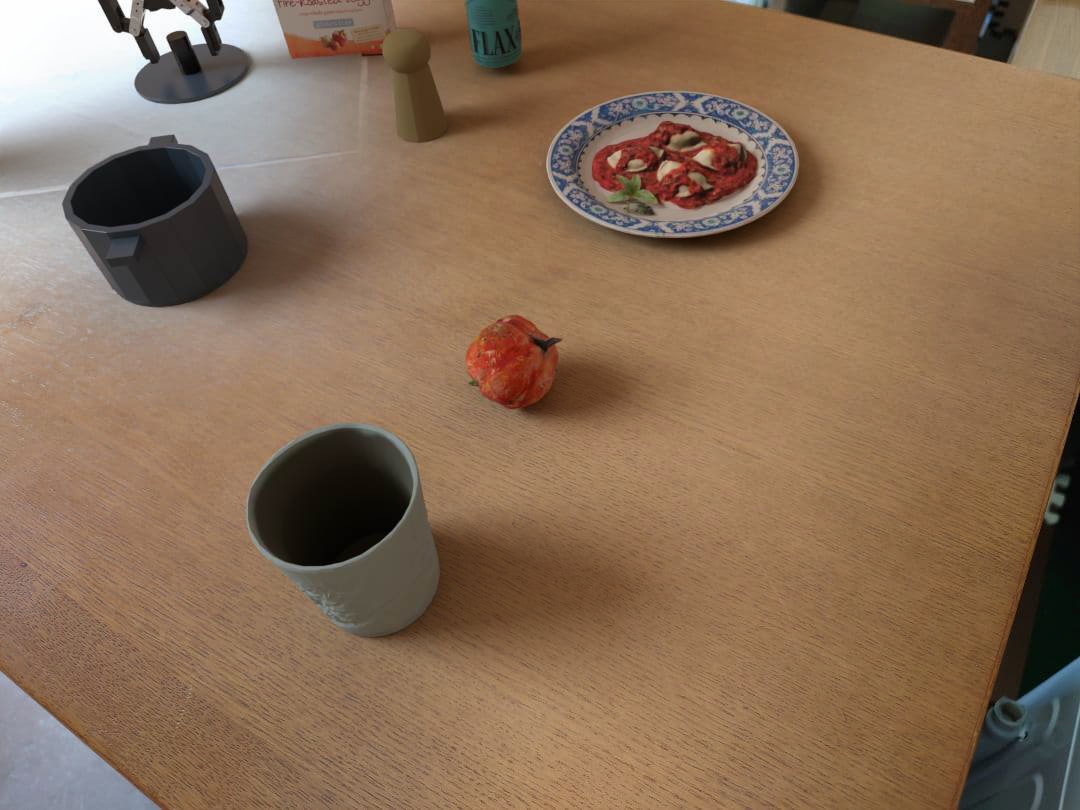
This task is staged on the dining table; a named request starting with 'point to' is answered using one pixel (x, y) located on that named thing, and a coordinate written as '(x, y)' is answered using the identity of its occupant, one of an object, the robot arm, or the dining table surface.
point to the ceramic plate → (672, 164)
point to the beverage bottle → (494, 32)
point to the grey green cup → (348, 526)
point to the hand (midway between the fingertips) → (186, 56)
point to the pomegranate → (512, 362)
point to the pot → (157, 223)
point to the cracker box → (335, 26)
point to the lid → (190, 71)
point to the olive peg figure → (414, 86)
